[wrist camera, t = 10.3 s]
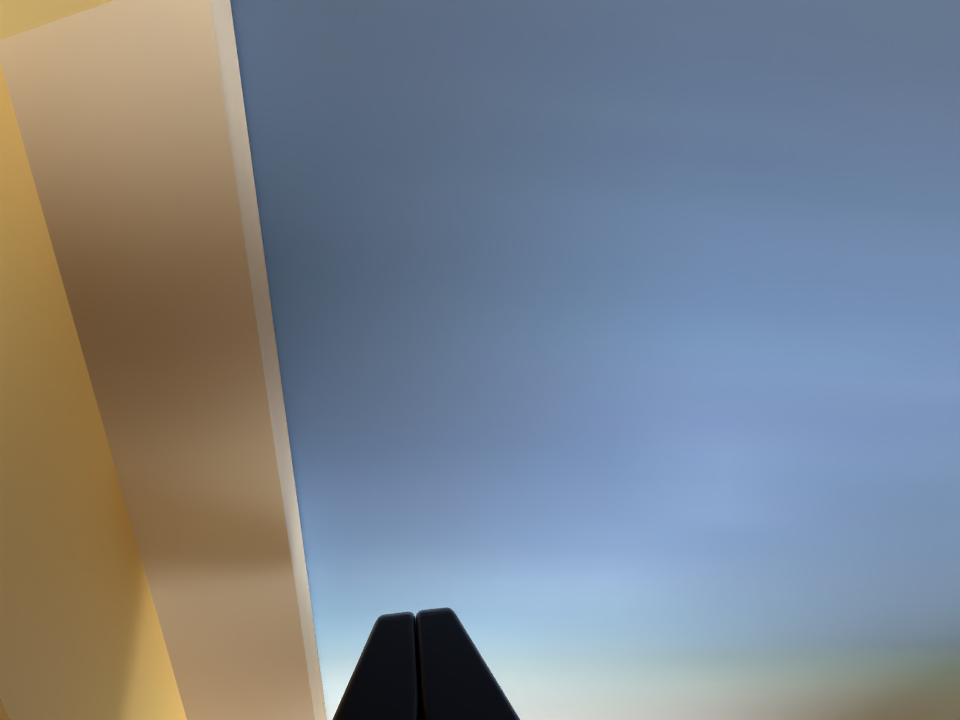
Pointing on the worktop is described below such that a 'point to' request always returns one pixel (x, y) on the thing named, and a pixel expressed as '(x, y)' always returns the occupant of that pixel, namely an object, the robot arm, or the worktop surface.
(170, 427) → the board
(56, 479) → the link
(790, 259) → the worktop surface
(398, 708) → the robot arm
